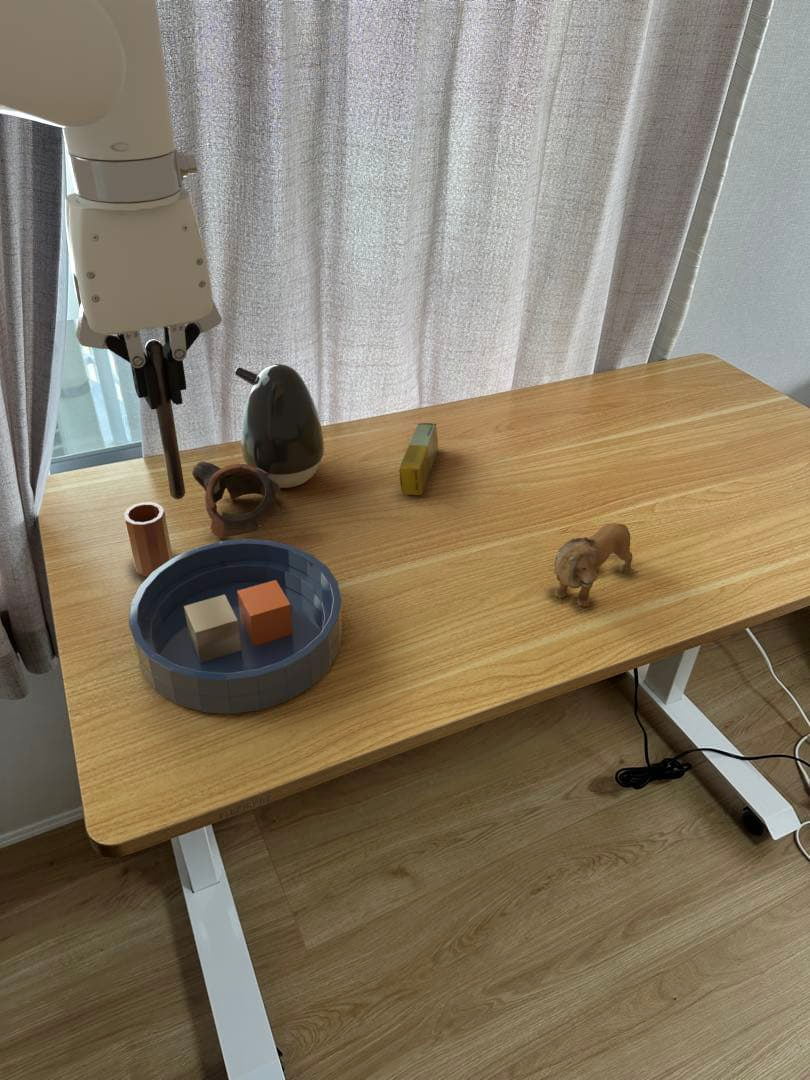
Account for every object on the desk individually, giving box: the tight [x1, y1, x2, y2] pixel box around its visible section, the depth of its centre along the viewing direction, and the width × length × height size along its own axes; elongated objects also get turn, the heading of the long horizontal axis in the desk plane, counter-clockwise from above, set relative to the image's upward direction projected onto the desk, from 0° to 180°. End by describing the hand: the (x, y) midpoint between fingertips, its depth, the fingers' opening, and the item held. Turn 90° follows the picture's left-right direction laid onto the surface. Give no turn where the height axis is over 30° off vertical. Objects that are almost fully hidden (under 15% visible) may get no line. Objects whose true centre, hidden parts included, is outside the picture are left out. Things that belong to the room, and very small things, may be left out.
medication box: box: [398, 422, 439, 496], centre depth 103 cm, size 12×3×4 cm, turn 168°
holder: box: [122, 501, 174, 578], centre depth 86 cm, size 4×4×7 cm
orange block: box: [237, 580, 292, 646], centre depth 79 cm, size 4×4×4 cm
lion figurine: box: [553, 522, 633, 608], centre depth 85 cm, size 15×5×9 cm, turn 144°
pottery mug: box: [191, 461, 281, 540], centre depth 94 cm, size 12×10×8 cm
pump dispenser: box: [234, 363, 325, 489], centre depth 98 cm, size 10×10×15 cm
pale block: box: [184, 595, 241, 663], centre depth 77 cm, size 4×4×4 cm
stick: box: [145, 339, 186, 500], centre depth 72 cm, size 1×1×16 cm
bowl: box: [128, 538, 343, 715], centre depth 78 cm, size 20×20×5 cm
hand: (162, 399), depth 71 cm, fingers closed on stick, 1 cm apart
